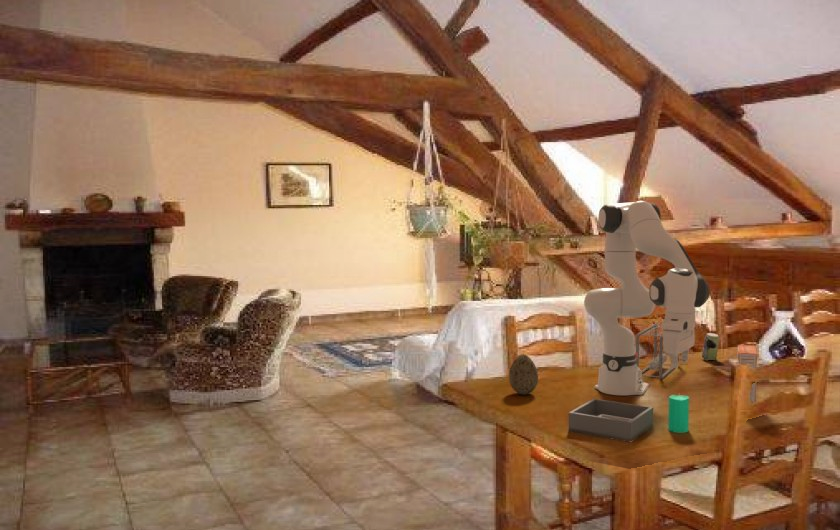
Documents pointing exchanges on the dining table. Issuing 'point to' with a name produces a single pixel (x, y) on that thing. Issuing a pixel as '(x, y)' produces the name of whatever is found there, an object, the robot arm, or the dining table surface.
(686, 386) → the dining table surface
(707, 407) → the dining table surface
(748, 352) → the cracker box
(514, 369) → the decorative egg
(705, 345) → the beverage can
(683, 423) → the candle
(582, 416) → the walled box
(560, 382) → the dining table surface
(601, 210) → the robot arm
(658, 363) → the newton's cradle
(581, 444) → the dining table surface
